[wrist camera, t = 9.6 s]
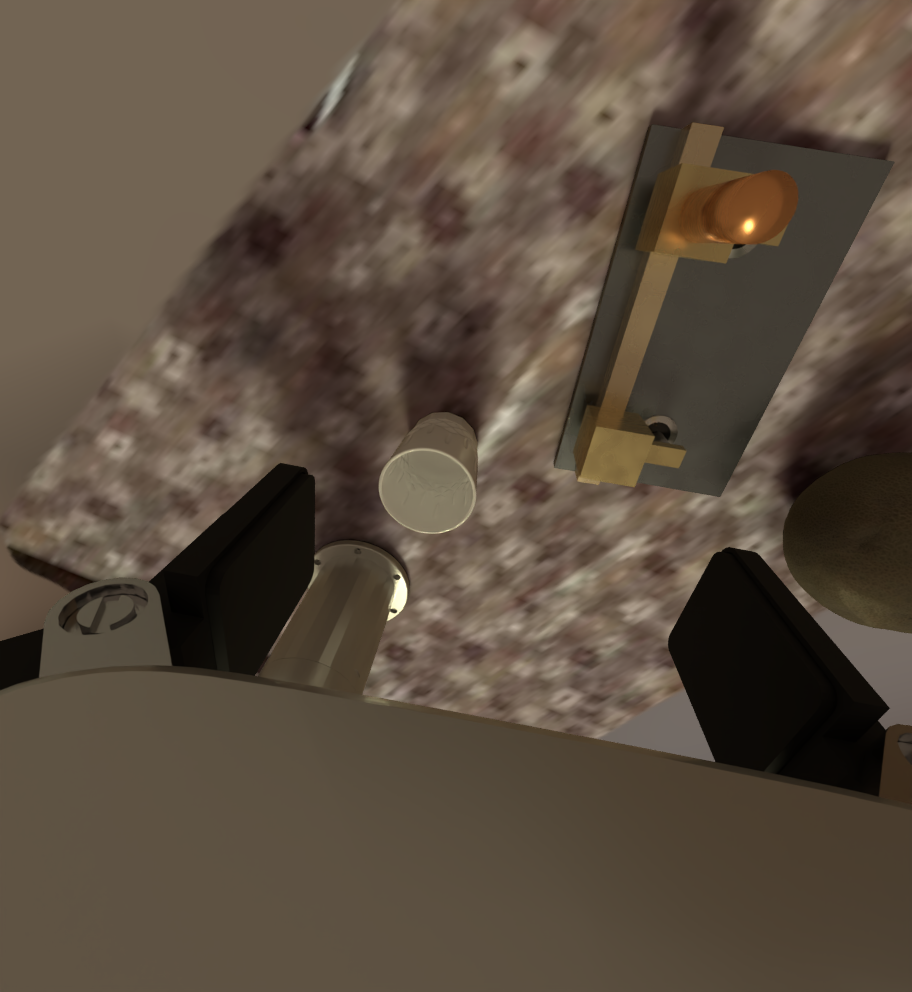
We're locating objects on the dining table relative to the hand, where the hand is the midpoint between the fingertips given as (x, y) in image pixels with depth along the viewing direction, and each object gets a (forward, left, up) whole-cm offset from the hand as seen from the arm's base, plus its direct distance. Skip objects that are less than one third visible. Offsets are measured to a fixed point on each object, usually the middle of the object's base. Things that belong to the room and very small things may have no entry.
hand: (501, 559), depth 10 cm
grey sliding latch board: (+1, -15, -32) cm, 35 cm away
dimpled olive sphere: (-10, -33, -32) cm, 47 cm away
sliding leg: (+9, -11, -31) cm, 34 cm away
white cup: (-12, +4, -32) cm, 35 cm away
